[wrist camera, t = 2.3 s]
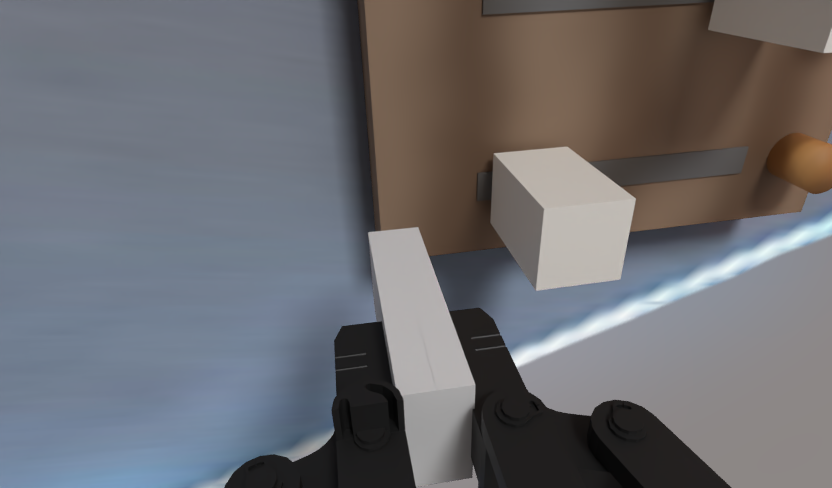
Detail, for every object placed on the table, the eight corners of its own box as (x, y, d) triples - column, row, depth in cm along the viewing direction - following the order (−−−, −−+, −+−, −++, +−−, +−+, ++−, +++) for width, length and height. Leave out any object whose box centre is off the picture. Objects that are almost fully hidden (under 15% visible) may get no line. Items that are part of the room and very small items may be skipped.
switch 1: (490, 222, 22) (535, 290, 17) (493, 153, 20) (544, 208, 16) (559, 214, 22) (620, 279, 18) (566, 146, 20) (635, 198, 16)
